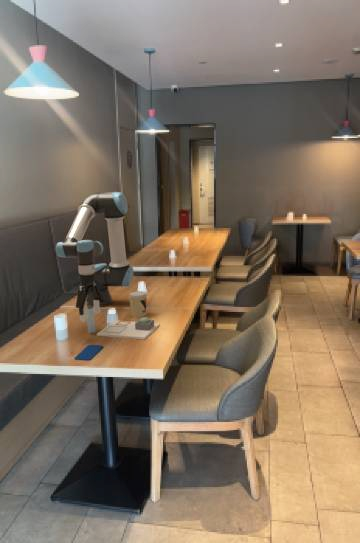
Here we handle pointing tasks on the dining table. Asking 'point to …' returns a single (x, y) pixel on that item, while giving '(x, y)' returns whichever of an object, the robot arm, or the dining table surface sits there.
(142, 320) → the button
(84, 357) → the smartphone
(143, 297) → the coffee cup
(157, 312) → the dining table surface
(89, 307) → the marker
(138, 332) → the board
